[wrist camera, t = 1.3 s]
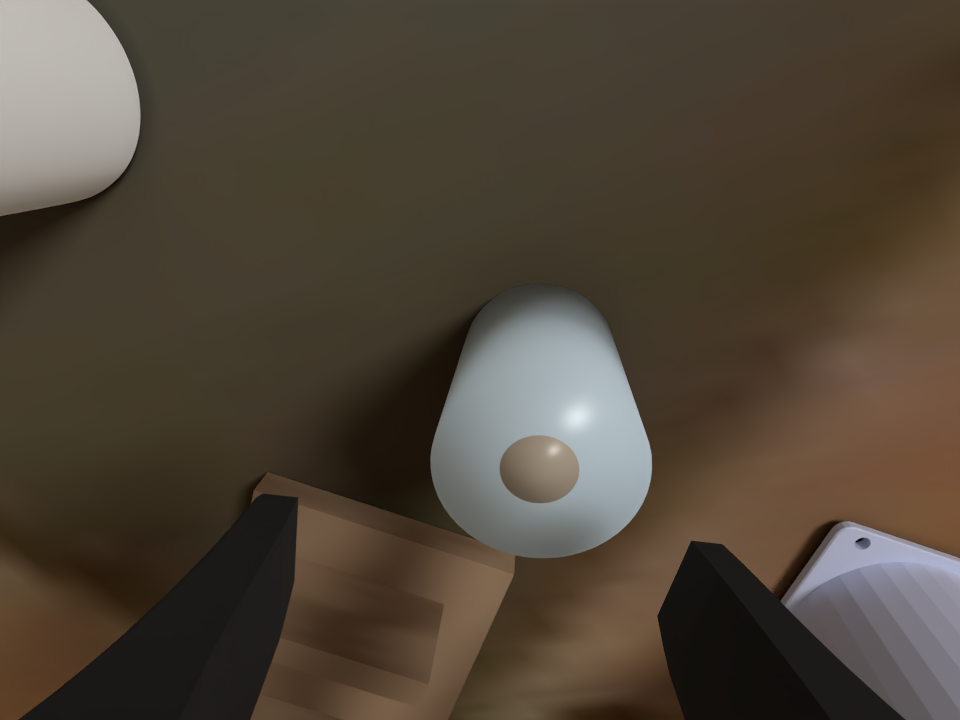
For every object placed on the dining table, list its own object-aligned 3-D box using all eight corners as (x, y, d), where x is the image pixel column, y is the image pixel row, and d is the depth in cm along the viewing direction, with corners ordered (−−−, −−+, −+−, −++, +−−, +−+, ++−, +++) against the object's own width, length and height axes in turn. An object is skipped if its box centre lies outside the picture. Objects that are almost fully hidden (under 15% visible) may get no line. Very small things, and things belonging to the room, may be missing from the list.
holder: (515, 552, 23) (510, 653, 19) (417, 770, 28) (396, 887, 24) (267, 471, 23) (204, 556, 18) (216, 708, 28) (157, 816, 24)
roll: (638, 313, 19) (691, 413, 13) (580, 440, 21) (599, 583, 15) (491, 262, 19) (468, 337, 12) (446, 395, 21) (405, 520, 14)
